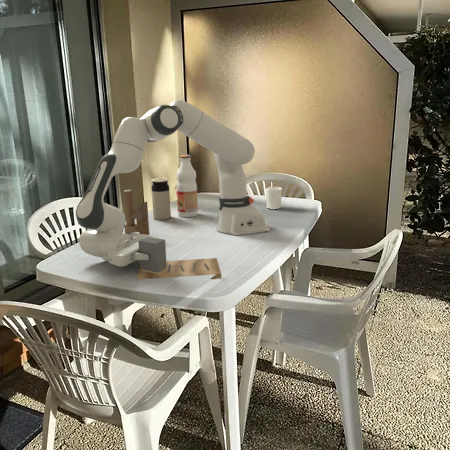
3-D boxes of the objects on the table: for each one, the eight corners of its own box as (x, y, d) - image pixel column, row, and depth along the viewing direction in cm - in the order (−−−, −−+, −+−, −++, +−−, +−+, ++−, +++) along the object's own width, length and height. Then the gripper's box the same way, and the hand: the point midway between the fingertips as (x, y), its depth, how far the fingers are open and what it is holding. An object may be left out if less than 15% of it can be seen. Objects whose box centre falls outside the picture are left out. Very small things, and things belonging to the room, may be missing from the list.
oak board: (216, 262, 158) (216, 257, 157) (221, 278, 144) (221, 273, 144) (139, 266, 155) (139, 262, 154) (137, 283, 141) (136, 279, 141)
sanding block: (140, 270, 148) (138, 240, 145) (149, 265, 152) (147, 236, 149) (158, 273, 145) (156, 243, 142) (166, 269, 148) (165, 239, 146)
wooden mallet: (143, 237, 185) (140, 193, 180) (124, 233, 191) (121, 190, 186) (149, 235, 188) (146, 192, 183) (131, 231, 194) (127, 189, 189)
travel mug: (169, 220, 209) (167, 181, 204) (152, 220, 209) (149, 181, 204) (171, 215, 216) (169, 177, 211) (155, 215, 217) (152, 177, 211)
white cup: (282, 210, 221) (282, 190, 218) (266, 210, 222) (266, 190, 219) (280, 206, 229) (281, 186, 226) (265, 206, 229) (265, 186, 226)
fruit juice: (194, 218, 211) (192, 157, 203) (175, 217, 213) (172, 156, 205) (200, 212, 220) (198, 153, 212) (181, 211, 222) (178, 153, 214)
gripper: (97, 248, 143) (133, 255, 137) (139, 230, 160) (172, 235, 154) (99, 267, 145) (134, 274, 138) (140, 247, 162) (173, 253, 156)
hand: (154, 253), depth 146 cm, fingers closed on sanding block, 4 cm apart
